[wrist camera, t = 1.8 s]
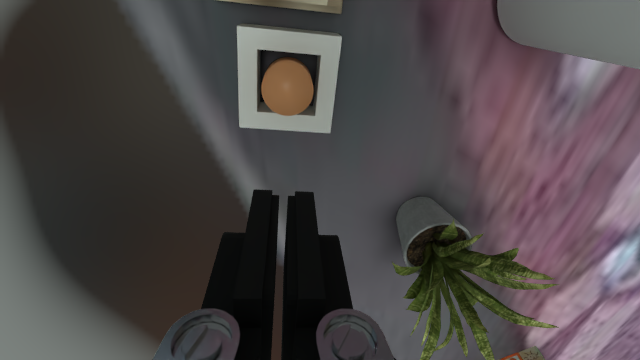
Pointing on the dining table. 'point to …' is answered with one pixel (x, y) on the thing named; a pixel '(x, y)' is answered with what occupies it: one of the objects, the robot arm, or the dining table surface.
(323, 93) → the button console
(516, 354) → the stack of blocks
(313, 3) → the beige square tray
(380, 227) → the dining table surface
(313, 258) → the robot arm
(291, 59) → the button
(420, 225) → the house plant
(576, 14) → the alcohol
